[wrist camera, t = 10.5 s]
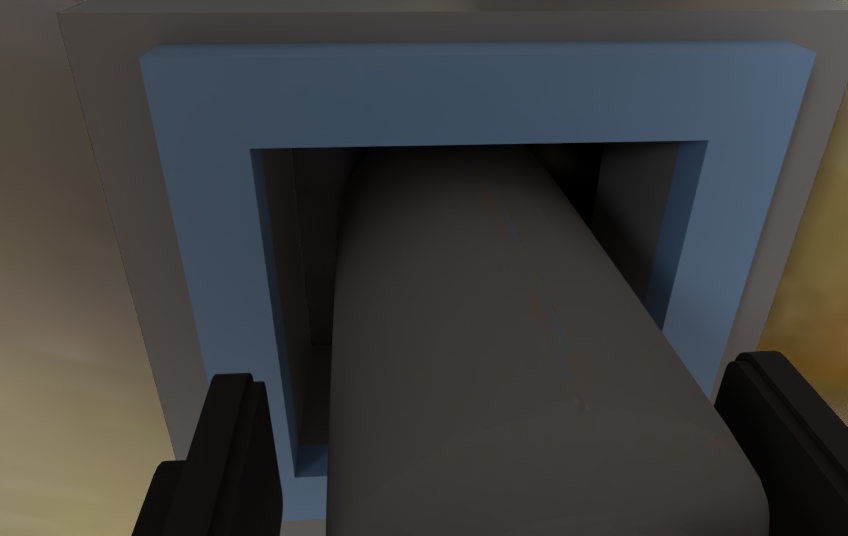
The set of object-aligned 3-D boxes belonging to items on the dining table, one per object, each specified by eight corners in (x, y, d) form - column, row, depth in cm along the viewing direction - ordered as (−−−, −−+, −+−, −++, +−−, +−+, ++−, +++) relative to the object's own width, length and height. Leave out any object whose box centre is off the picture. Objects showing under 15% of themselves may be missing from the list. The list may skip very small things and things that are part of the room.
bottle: (386, 77, 15) (586, 1102, 2) (592, 163, 17) (1378, 1041, 4) (307, 275, 18) (192, 1295, 5) (493, 333, 19) (777, 1209, 6)
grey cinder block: (133, -18, 14) (27, 24, 10) (756, -19, 15) (913, 19, 10) (270, 650, 27) (252, 793, 23) (594, 627, 28) (635, 760, 24)
